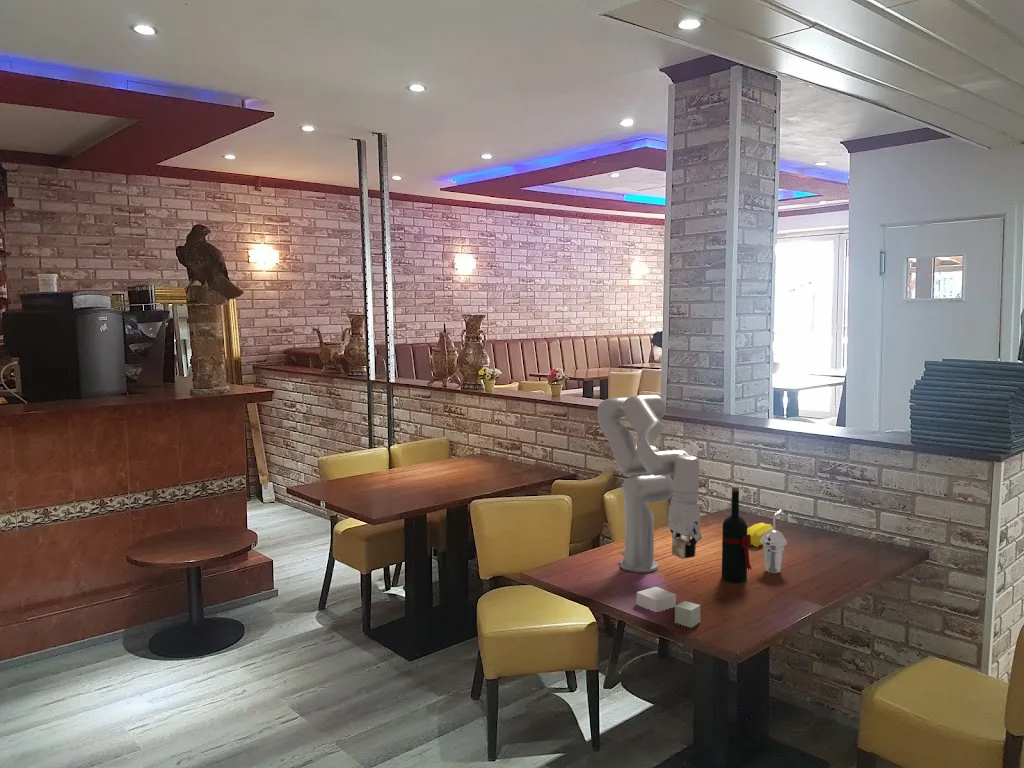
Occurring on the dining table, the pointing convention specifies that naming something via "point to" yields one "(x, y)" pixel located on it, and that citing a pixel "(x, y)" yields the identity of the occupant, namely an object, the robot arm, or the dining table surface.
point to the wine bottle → (735, 545)
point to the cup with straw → (773, 548)
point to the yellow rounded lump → (758, 532)
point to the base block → (656, 599)
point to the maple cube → (680, 546)
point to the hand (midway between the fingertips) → (683, 553)
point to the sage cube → (687, 614)
